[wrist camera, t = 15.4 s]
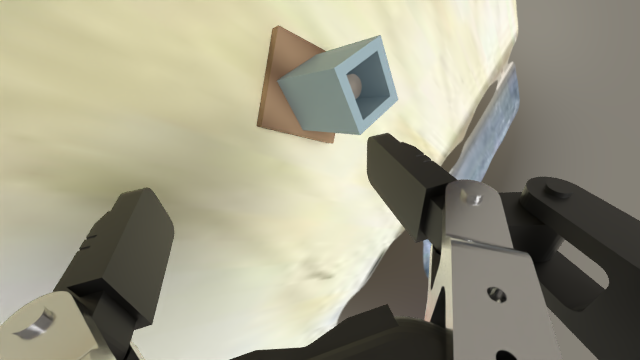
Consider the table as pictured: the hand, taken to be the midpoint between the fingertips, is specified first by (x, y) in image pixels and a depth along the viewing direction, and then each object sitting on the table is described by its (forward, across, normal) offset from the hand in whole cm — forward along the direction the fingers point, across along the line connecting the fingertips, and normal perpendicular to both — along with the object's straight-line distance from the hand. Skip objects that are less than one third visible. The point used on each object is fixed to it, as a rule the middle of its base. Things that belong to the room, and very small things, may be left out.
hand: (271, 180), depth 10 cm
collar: (+20, -6, +3) cm, 21 cm away
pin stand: (+21, -6, +4) cm, 22 cm away
